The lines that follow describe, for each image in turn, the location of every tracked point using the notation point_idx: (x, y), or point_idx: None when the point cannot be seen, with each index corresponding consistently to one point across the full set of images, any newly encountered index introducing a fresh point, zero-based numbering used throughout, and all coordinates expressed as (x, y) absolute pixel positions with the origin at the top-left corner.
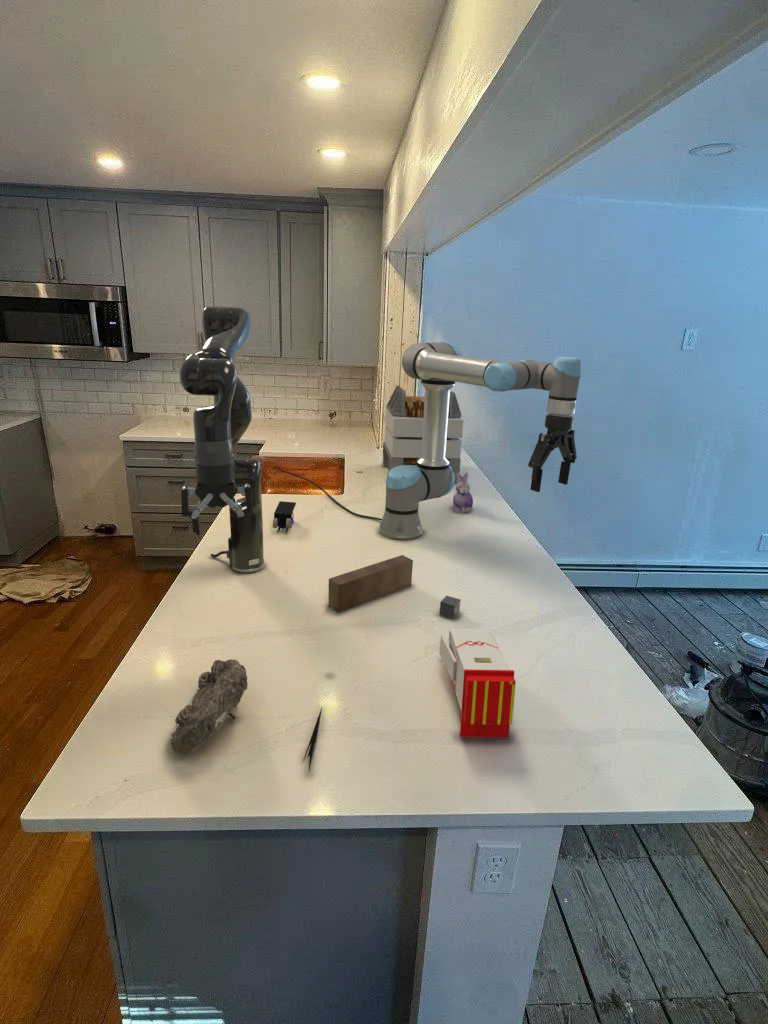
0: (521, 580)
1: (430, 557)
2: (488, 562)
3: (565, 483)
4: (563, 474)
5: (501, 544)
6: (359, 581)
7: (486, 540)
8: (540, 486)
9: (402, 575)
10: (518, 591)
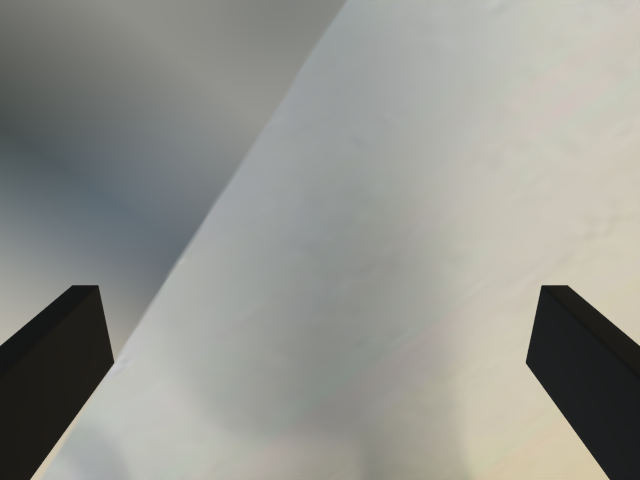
0: (411, 151)
1: (492, 395)
2: (385, 291)
3: (93, 296)
4: (50, 389)
5: (241, 351)
6: None
7: (259, 391)
8: (572, 312)
9: None
10: (489, 105)
